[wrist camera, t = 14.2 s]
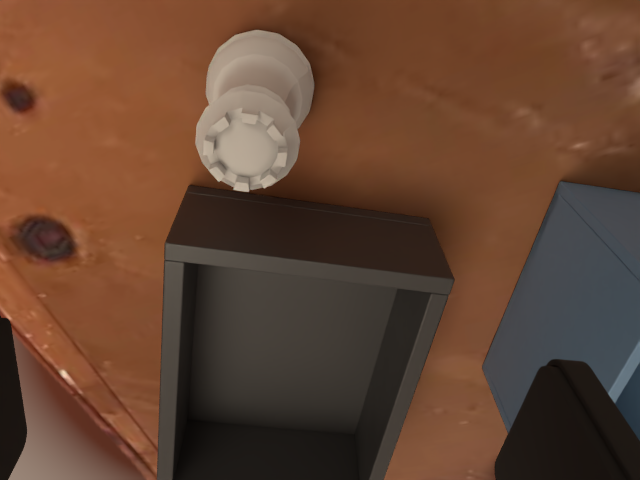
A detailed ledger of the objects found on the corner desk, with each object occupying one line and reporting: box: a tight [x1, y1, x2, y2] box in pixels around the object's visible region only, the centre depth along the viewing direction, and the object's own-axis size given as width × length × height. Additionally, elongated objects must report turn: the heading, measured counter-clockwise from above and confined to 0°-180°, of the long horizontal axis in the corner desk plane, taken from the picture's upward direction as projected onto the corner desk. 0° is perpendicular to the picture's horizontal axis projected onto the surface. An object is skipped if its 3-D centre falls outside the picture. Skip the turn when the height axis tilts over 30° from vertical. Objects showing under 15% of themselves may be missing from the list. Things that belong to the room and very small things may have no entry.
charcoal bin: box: [157, 185, 454, 480], centre depth 28 cm, size 16×12×5 cm
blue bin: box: [482, 181, 640, 441], centre depth 26 cm, size 12×7×9 cm, turn 171°
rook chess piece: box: [196, 30, 315, 192], centre depth 20 cm, size 4×4×8 cm
